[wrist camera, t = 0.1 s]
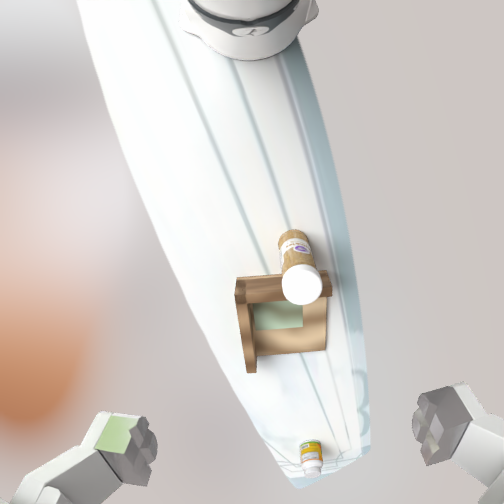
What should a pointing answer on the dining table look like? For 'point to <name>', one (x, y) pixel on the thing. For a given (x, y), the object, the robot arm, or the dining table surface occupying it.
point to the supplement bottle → (311, 458)
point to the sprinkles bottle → (298, 269)
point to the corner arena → (278, 318)
